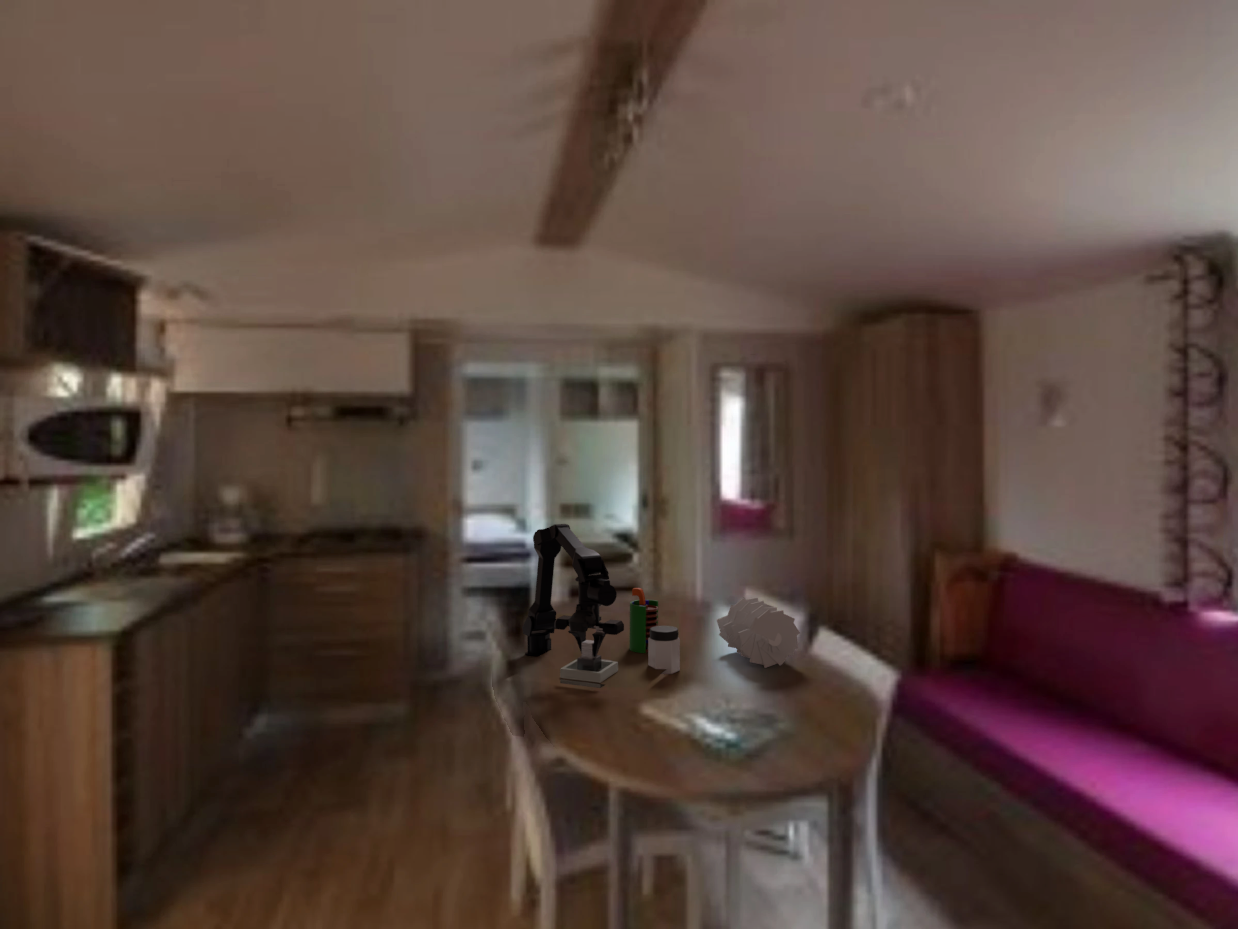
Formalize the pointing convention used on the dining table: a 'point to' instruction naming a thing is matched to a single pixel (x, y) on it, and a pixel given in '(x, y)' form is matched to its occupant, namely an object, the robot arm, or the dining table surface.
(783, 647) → the spiral staircase
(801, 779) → the dining table surface
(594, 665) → the grey square peg
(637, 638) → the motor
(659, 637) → the jar
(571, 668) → the bin
